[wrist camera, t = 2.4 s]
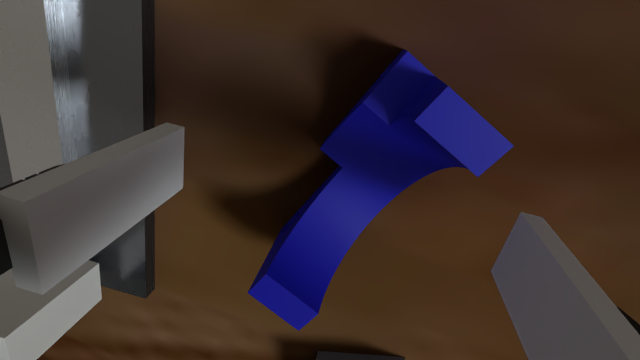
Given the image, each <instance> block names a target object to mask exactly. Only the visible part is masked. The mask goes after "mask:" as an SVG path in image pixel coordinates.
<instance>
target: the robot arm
mask: <svg viewBox="0 0 640 360" xmlns="http://www.w3.org/2000/svg"><path fill="white" fill-rule="evenodd" d="M184 129H185V127H182V126H178V125H174V124H170V123H164V124H162V125H159V126H157V127H155V128H152V129H150V130H147V131H145V132H142V133H140V134H137V135H135V136H133V137H130V138H128V139H125V140H123V141H120V142H118V143H115V144H113V145H111V146H108V147H106V148H103V149H101V150H98V151H96V152H94V153H91V154H89V155H86V156H84V157H81V158H79V159H76V160H74V161H72V162H69V163H67V164H62V165H57V166H54V167H51V168H49V169H46V170H44V171H41V172H39V174H34V175H31V176H29V177H26V178H25V180H22V179H21V180H19V181H16V182H14V183H11V184H9V185H6V186H4V187H2V188H0V275H2V274H4V273H5V272H7V271H8V270H10V269H12V272H13V276H14V280H15V285H16V287H19V288H22V289H25V290H28V291H32V292H35V293H38V294H41V295H43V294H45V293H46V292H47V291H48V290H50V289H51V288H52V287H54V286H55V285H56V284H58V283H59V282H60V281H62V280H63V279H64V278H66V277H67V276H68V275H69V274H71V273H72V272H73V271H75V270H76V269H77V268H79V267H80V266H81V265H83V264H84V263H85V262H87V261H88V260H89V259H90V258H92V257H93V256H94V255H96V254H97V253H98V252H100V251H101V250H102V249H104V248H105V247H106V246H108V245H109V244H110V243H112V242H113V241H114V240H115V239H117V238H118V237H119V236H121V235H122V234H123V233H125V232H126V231H127V230H129V229H130V228H131V227H133V226H134V225H135V224H136V223H138V222H139V221H140V220H142V219H143V218H144V217H146V216H147V215H148V214H150V213H151V212H152V211H154V210H155V209H156V208H157V207H159V206H160V205H161V204H163V203H164V202H165V201H167V200H168V199H169V198H171V197H172V196H173V195H175V194H176V193H177V192H178V191H180V190H181V189H182V188H183V166H184ZM491 273H492V275H493V277H494V280H495V282H496V285H497V287H498V289H499V292H500V294H501V296H502V299H503V301H504V303H505V306H506V308H507V310H508V313H509V315H510V317H511V320H512V322H513V324H514V327H515V329H516V331H517V334H518V336H519V339H520V341H521V343H522V346H523V348H524V350H525V353H526V355H527V357H528V360H640V325H639V324H638V323H637V322H636V321H635V320H633V319H632V318H631V317H630V316H628V315H627V314H626V313H625V312H624V311H622V310H621V309H620V308H619V307H616V306H615V305H614V303H613V302H612V301H611V300H610V299H609V297H608V296H607V295H606V294H605V292H604V291H603V290H602V289H601V288H600V286H599V285H598V284H597V283H596V282H595V280H594V279H593V278H592V277H591V276H590V274H589V273H588V272H587V271H586V269H585V268H584V267H583V266H582V265H581V263H580V262H579V261H578V260H577V259H576V257H575V256H574V255H573V254H572V253H571V251H570V250H569V249H568V248H567V246H566V245H565V244H564V243H563V242H562V240H561V239H560V238H559V237H558V236H557V234H556V233H555V232H554V231H553V230H552V228H551V227H550V226H549V225H548V223H547V222H546V221H545V220H544V219H543V218H542V217H539V216H535V215H531V214H527V213H523V212H521V213H520V215H519V217H518V219H517V221H516V223H515V225H514V227H513V229H512V231H511V233H510V235H509V236H508V238H507V240H506V242H505V244H504V246H503V248H502V250H501V252H500V254H499V256H498V258H497V260H496V262H495V264H494V266H493V268H492V270H491Z"/></svg>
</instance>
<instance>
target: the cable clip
mask: <svg viewBox="0 0 640 360" xmlns="http://www.w3.org/2000/svg"><path fill="white" fill-rule="evenodd" d="M512 147H513V145H512V144H511V143H510V142H509V141H508V140H507V139H506V138H505V137H503V136H502V135H501V134H500V133H499V132H498V131H497V130H496V129H495V128H494V127H492V126H491V125H490V124H489V123H488V122H487V121H486V120H485V119H484V118H483V117H481V116H480V115H479V114H478V113H477V112H476V111H475V110H474V109H473V108H472V107H471V106H469V105H468V104H467V103H466V102H465V101H464V100H463V99H462V98H461V97H460V96H458V95H457V94H456V93H455V92H454V91H453V90H452V89H451V88H450V87H449V86H447V85H446V84H445V83H443V82H442V81H441V80H439V79H438V78H437V77H435V76H434V75H433V74H432V73H431V72H430V71H429V70H428V69H426V68H425V67H424V66H423V65H422V64H421V63H420V62H419V61H418V60H417V59H415V58H414V57H413V56H412V55H411V54H410V53H409V52H408V51H406V50H404V49H403V50H402V51H401V53H400V54H399V55H398V56H397V57H396V58H395V60H394V61H393V62H392V63H391V64H390V65H389V66H388V68H387V69H386V70H385V71H384V72H383V73H382V75H381V76H380V77H379V78H378V79H377V80H376V82H375V83H374V84H373V85H372V86H371V87H370V89H369V90H368V91H367V92H366V93H365V94H364V96H363V97H362V98H361V99H360V100H359V101H358V103H357V104H356V105H355V106H354V107H353V108H352V110H351V111H350V112H349V113H348V114H347V115H346V117H345V118H344V119H343V120H342V121H341V122H340V124H339V125H338V126H337V127H336V128H335V129H334V131H333V132H332V133H331V134H330V135H329V136H328V138H327V139H326V140H325V141H324V142H323V144H322V146H321V148H320V150H322V151H323V152H324V153H325V154H327V155H328V156H329V157H330V158H331V159H333V160H334V161H335V162H336V163H337V164H339V165H340V166H339V167H338V168H337V169H336V170H335V171H334V172H333V173H332V174H331V175H330V176H329V178H328V179H327V180H326V181H325V182H324V183H323V184H322V185H321V186H320V187H319V188H318V190H317V191H316V192H315V193H314V194H313V195H312V196H311V197H310V198H309V199H308V200H307V201H306V203H305V204H304V205H303V206H302V207H301V208H300V209H299V210H298V211H297V212H296V213H295V215H294V216H293V217H292V218H291V219H290V220H289V221H288V222H287V223H286V224H285V225H284V227H283V228H282V229H281V231H280V233H279V235H278V236H277V238H276V240H275V242H274V244H273V246H272V248H271V250H270V252H269V253H268V255H267V257H266V259H265V261H264V263H263V265H262V267H261V269H260V270H259V272H258V274H257V276H256V278H255V280H254V282H253V284H252V286H251V288H250V289H249V291H248V293H249V294H250V295H251V296H253V297H254V298H255V299H257V300H258V301H259V302H261V303H262V304H263V305H265V306H266V307H267V308H269V309H270V310H271V311H273V312H274V313H276V314H277V315H278V316H280V317H281V318H282V319H284V320H285V321H286V322H288V323H289V324H290V325H292V326H293V327H294V328H296V329H297V330H298V331H299V330H300V329H301V328H302V327H303V326H305V325H306V324H307V323H308V322H309V321H310V320H312V319H313V318H314V317H315V316H316V315H317V314H318V313H319V309H320V306H321V303H322V300H323V297H324V294H325V292H326V289H327V287H328V285H329V283H330V280H331V278H332V276H333V274H334V272H335V271H336V269H337V267H338V265H339V264H340V262H341V260H342V259H343V257H344V255H345V254H346V252H347V251H348V249H349V248H350V246H351V245H352V244H353V242H354V241H355V240H356V238H357V237H358V236H359V234H360V233H361V232H362V230H363V229H364V228H365V227H366V226H367V224H368V223H369V222H370V221H371V220H372V219H373V218H374V217H375V216H376V214H377V213H378V212H379V211H380V210H381V209H382V208H383V207H384V206H385V205H387V204H388V203H389V202H390V201H391V200H392V199H393V198H394V197H395V196H397V195H398V194H399V193H400V192H402V191H403V190H404V189H406V188H407V187H408V186H410V185H411V184H413V183H414V182H416V181H417V180H419V179H421V178H422V177H424V176H426V175H428V174H430V173H433V172H435V171H438V170H441V169H444V168H449V167H463V168H466V169H469V170H470V171H471V172H472V173H474V174H475V175H476V176H477V177H478V176H480V175H481V174H482V173H483V172H484V171H485V170H487V169H488V168H489V167H490V166H491V165H492V164H494V163H495V162H496V161H497V160H498V159H499V158H501V157H502V156H503V155H504V154H505V153H506V152H508V151H509V150H510V149H511V148H512Z"/></svg>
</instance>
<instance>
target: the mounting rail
mask: <svg viewBox="0 0 640 360" xmlns="http://www.w3.org/2000/svg"><path fill="white" fill-rule="evenodd" d="M152 128H154V0H0V188H2V187H4V186H6V185H9V184H11V183H14V182H16V181H19V180H21V179H22V180H25V178H26V177H29V176H31V175H34V174H39V172H41V171H44V170H46V169H49V168H51V167H54V166H57V165H62V164H67V163H69V162H72V161H74V160H76V159H79V158H81V157H84V156H86V155H89V154H91V153H94V152H96V151H98V150H101V149H103V148H106V147H108V146H111V145H113V144H115V143H118V142H120V141H123V140H125V139H128V138H130V137H133V136H135V135H137V134H140V133H142V132H145V131H147V130H150V129H152ZM89 261H93V262H96V263H99V271H100V283H101V286H104V287H108V288H111V289H115V290H118V291H121V292H125V293H128V294H132V295H135V296H139V297H142V298H147V297H148V296H149V294H150V293H151V292H152V291H153V290H154V289H155V279H154V211H152V212H151V213H150V214H148V215H147V216H146V217H144V218H143V219H142V220H140V221H139V222H138V223H136V224H135V225H134V226H133V227H131V228H130V229H129V230H127V231H126V232H125V233H123V234H122V235H121V236H119V237H118V238H117V239H115V240H114V241H113V242H112V243H110V244H109V245H108V246H106V247H105V248H104V249H102V250H101V251H100V252H98V253H97V254H96V255H94V256H93V257H92V258H90V259H89Z"/></svg>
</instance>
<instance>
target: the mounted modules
mask: <svg viewBox="0 0 640 360" xmlns="http://www.w3.org/2000/svg"><path fill="white" fill-rule="evenodd" d="M101 299H102V295H101V283H100V271H99V263H96V262H93V261H89V260H88V261H87V262H85V263H84V264H83V265H81V266H80V267H79V268H77V269H76V270H75V271H73V272H72V273H71V274H69V275H68V276H67V277H66V278H64V279H63V280H62V281H60V282H59V283H58V284H56V285H55V286H54V287H52V288H51V289H50V290H48V291H47V292H46V293H45V294H43V295H41V294H38V293H35V292H32V291H28V290H25V289H22V288H19V287H16V285H15V280H14V276H13V272H12V269H10V270H8V271H7V272H5V273H4V274H2V275H0V360H37V359H38V358H39V357H40V356H41V355H42V354H43V353H44V352H45V351H46V350H47V349H49V348H50V347H51V346H52V345H53V344H54V343H55V342H56V341H57V340H58V339H59V338H60V337H61V336H62V335H64V334H65V333H66V332H67V331H68V330H69V329H70V328H71V327H72V326H73V325H74V324H75V323H76V322H78V321H79V320H80V319H81V318H82V317H83V316H84V315H85V314H86V313H87V312H88V311H89V310H90V309H91V308H93V307H94V306H95V305H96V304H97V303H98V302H99V301H100V300H101Z"/></svg>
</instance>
